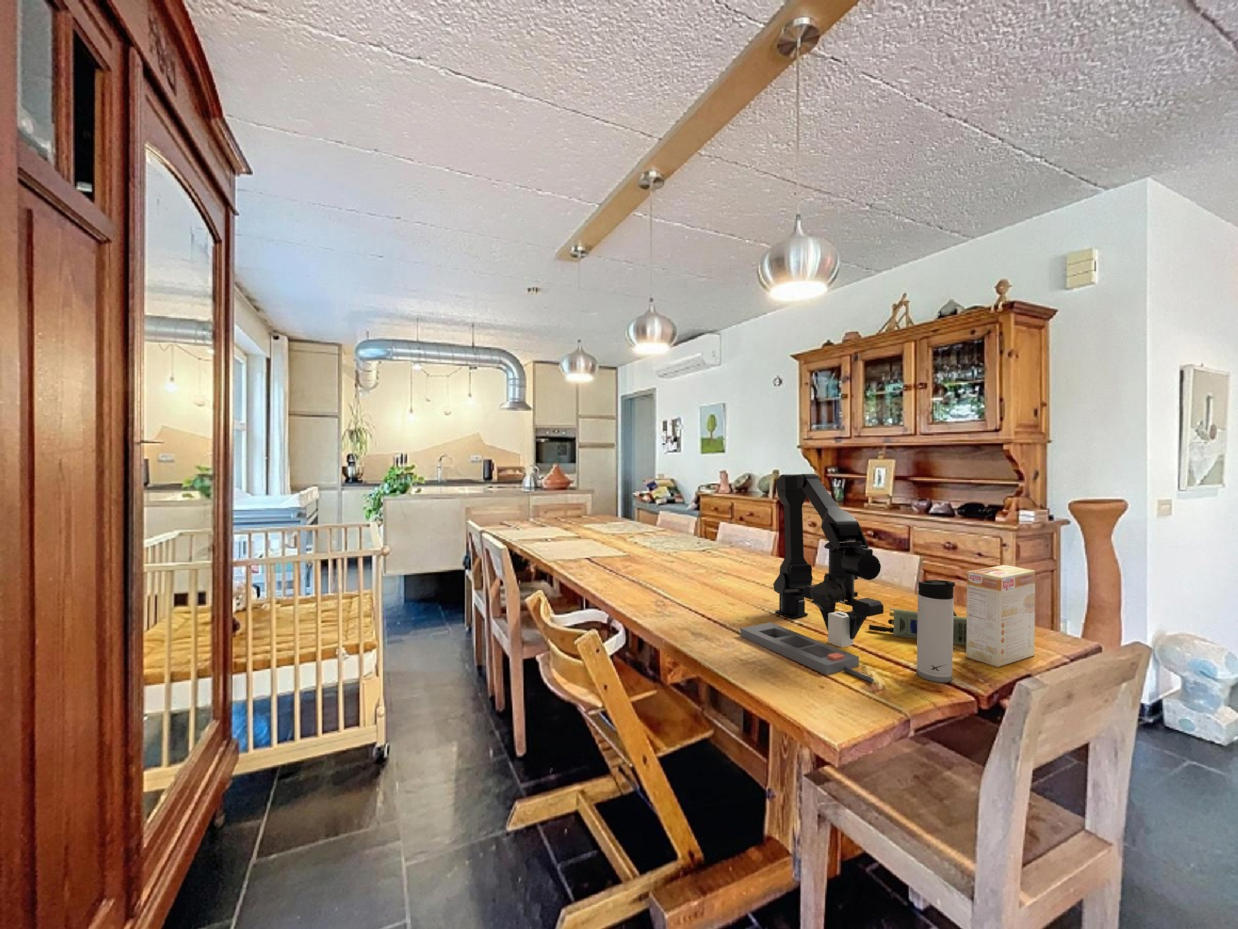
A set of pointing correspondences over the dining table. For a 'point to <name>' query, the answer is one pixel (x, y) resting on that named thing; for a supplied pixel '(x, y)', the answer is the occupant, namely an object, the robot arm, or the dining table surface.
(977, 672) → the dining table surface
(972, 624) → the coffeecake box
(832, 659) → the power strip
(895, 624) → the handheld radio
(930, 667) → the travel mug
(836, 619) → the block
